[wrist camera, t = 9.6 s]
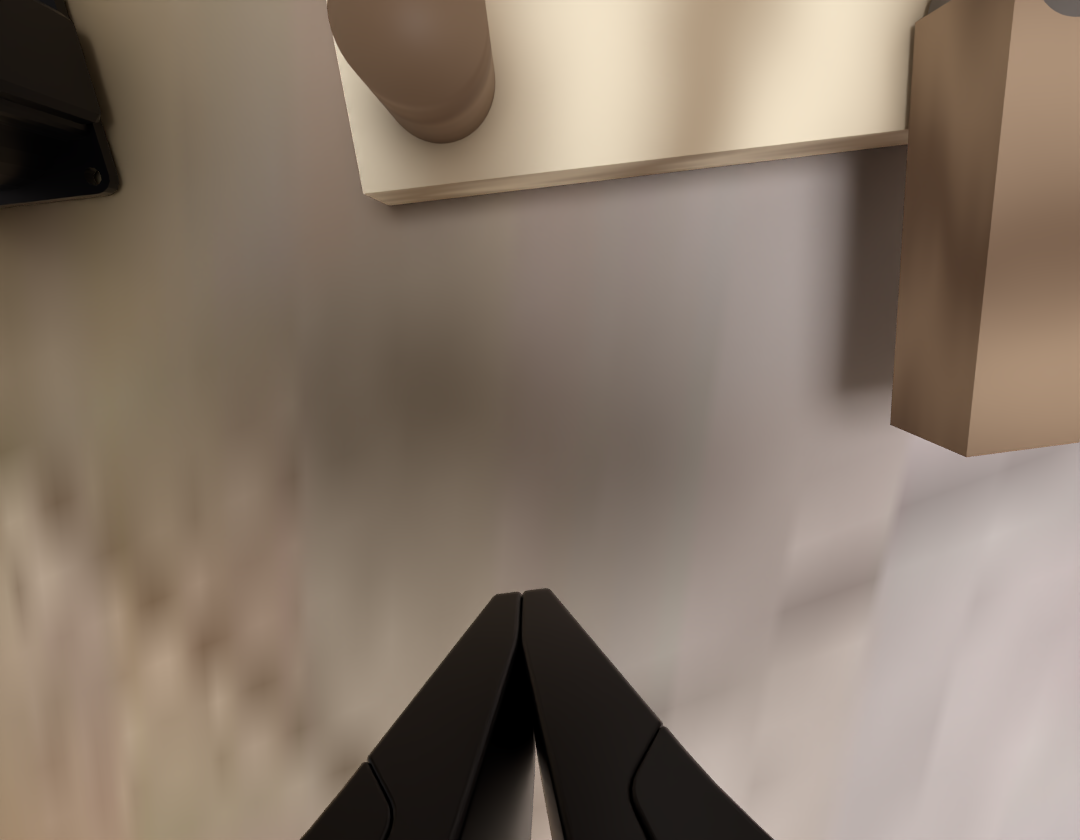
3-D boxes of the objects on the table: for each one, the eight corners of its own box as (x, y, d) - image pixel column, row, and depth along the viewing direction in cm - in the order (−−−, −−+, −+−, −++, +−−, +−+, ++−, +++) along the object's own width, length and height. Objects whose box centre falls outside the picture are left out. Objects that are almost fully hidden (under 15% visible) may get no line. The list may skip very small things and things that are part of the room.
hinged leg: (918, -33, 13) (1026, -114, 11) (1036, -49, 13) (1176, -134, 11) (890, 424, 17) (966, 457, 14) (984, 412, 17) (1079, 442, 14)
